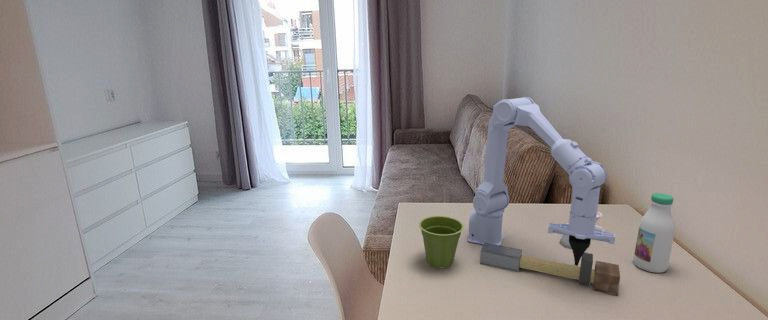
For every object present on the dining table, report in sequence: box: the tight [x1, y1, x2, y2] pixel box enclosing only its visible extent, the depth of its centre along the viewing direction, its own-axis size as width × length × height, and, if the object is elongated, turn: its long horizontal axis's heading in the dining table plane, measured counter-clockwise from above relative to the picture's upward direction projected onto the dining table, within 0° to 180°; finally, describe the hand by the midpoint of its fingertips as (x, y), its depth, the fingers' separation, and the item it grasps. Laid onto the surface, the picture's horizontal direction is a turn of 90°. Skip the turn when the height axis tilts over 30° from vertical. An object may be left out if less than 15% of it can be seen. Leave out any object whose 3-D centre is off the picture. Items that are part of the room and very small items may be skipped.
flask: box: [559, 234, 572, 249], centre depth 120 cm, size 7×7×10 cm
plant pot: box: [418, 215, 465, 269], centre depth 110 cm, size 12×12×11 cm
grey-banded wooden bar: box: [519, 251, 595, 287], centre depth 104 cm, size 20×4×7 cm, turn 64°
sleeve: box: [479, 243, 523, 273], centre depth 110 cm, size 10×4×4 cm, turn 64°
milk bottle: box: [632, 192, 676, 274], centre depth 107 cm, size 8×8×20 cm
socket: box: [592, 260, 621, 297], centre depth 100 cm, size 5×6×5 cm
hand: (576, 263), depth 102 cm, fingers closed
